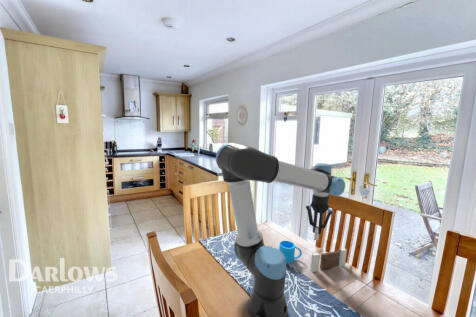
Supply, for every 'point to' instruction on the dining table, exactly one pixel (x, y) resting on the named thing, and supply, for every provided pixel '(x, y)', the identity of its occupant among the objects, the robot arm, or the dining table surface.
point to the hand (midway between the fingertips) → (316, 239)
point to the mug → (289, 250)
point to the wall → (317, 256)
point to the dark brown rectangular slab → (329, 260)
